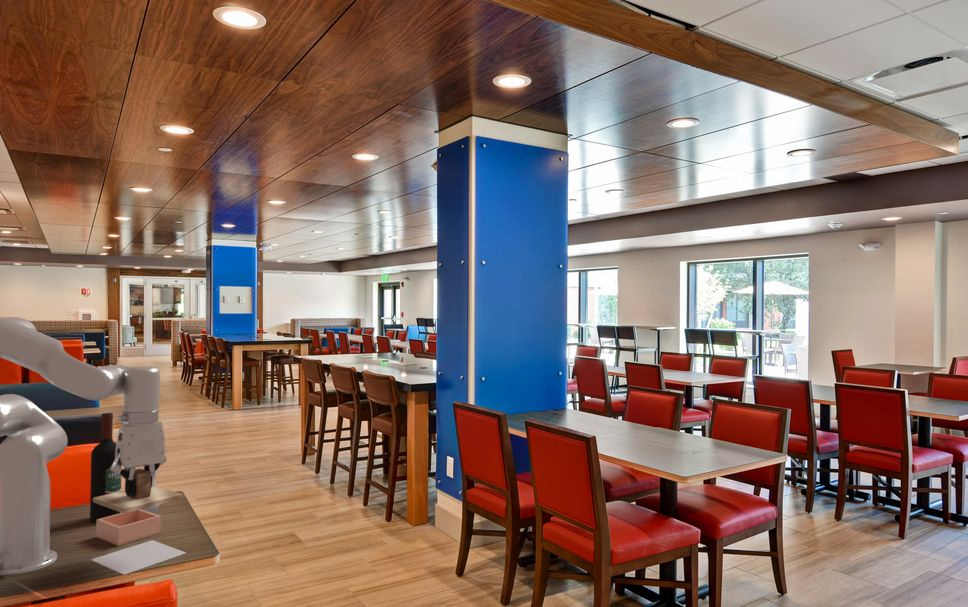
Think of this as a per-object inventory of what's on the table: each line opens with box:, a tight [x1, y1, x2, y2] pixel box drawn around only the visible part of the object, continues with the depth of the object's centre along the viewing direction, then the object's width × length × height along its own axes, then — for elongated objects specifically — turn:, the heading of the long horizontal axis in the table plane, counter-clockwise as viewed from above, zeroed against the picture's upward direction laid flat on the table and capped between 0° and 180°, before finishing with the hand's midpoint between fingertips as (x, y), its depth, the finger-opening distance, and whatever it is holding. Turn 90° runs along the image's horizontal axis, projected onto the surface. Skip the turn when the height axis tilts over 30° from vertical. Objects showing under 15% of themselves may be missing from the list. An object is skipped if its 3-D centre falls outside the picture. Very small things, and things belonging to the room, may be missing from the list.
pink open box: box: [95, 509, 162, 547], centre depth 164 cm, size 11×11×5 cm
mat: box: [90, 539, 187, 576], centre depth 150 cm, size 15×15×1 cm
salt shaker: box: [142, 469, 161, 514], centre depth 182 cm, size 6×6×13 cm
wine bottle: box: [89, 412, 123, 524], centre depth 178 cm, size 8×8×30 cm
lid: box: [93, 468, 184, 513], centre depth 150 cm, size 14×14×7 cm
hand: (138, 492), depth 150 cm, fingers closed on lid, 3 cm apart
